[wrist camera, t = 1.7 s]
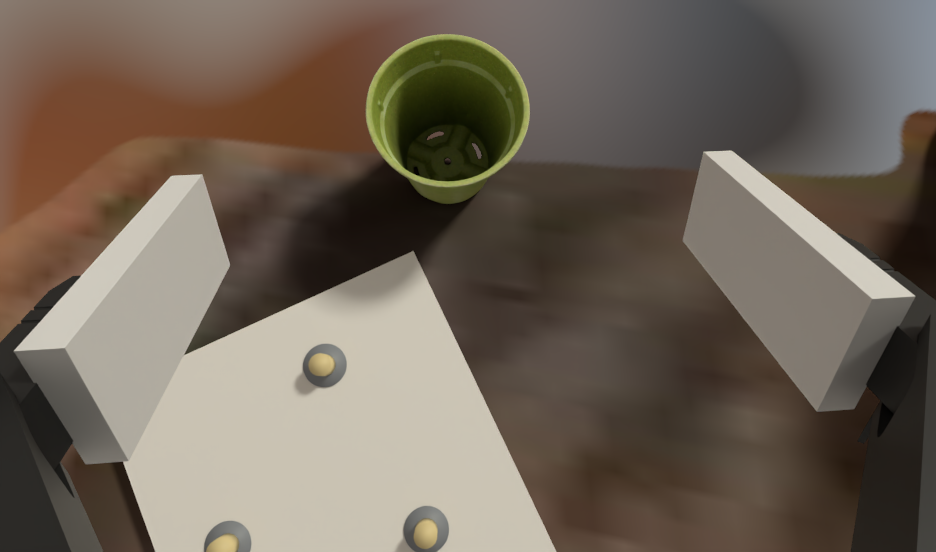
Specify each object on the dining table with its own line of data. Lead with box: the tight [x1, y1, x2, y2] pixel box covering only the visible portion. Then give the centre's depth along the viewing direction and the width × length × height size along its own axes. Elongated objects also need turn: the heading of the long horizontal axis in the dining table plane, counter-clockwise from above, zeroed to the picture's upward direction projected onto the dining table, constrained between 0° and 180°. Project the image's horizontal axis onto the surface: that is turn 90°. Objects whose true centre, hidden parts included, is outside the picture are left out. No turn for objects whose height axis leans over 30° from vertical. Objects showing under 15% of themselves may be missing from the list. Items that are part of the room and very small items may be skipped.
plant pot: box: [366, 34, 530, 204], centre depth 36 cm, size 9×9×9 cm
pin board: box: [123, 251, 556, 552], centre depth 35 cm, size 22×22×3 cm
